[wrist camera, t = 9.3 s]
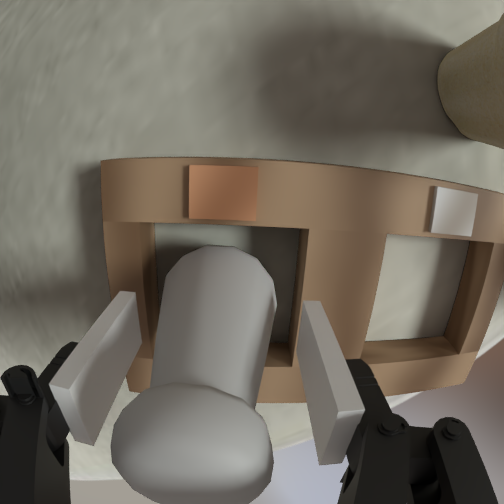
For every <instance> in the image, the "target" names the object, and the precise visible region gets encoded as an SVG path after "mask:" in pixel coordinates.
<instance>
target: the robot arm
mask: <svg viewBox="0 0 504 504" xmlns="http://www.w3.org/2000/svg"><path fill="white" fill-rule="evenodd" d="M141 344H142V339H141V332H140V325H139V317H138V310H137V301H136V293H135V292H127V291H120V292H119V293H118V294H117V295H116V297H115V298H114V299H113V300H112V302H111V303H110V304H109V305H108V306H107V308H106V309H105V310H104V311H103V313H102V314H101V315H100V316H99V318H98V319H97V320H96V321H95V323H94V324H93V325H92V327H91V328H90V329H89V330H88V332H87V333H86V334H85V336H84V337H83V338H82V339H81V341H80V342H79V343H77V342H70V343H68V344H67V345H65V346H64V347H62V348H61V349H60V350H59V352H58V353H57V354H56V356H55V357H54V358H53V359H52V361H51V362H50V364H48V366H47V367H46V368H45V370H44V371H43V372H42V373H41V375H40V376H39V377H38V379H37V376H36V374H35V372H34V370H33V369H32V368H31V367H29V366H25V365H18V366H13V367H11V368H9V369H7V370H6V371H5V372H4V373H3V374H2V376H1V380H2V382H3V384H4V386H5V388H6V391H7V393H8V395H9V396H5V395H0V504H71V500H70V479H69V444H68V441H67V439H66V437H67V435H68V433H69V431H70V432H71V434H72V436H73V438H74V440H75V441H78V442H81V443H85V444H89V445H92V446H94V444H95V442H96V440H97V437H98V435H99V433H100V431H101V428H102V426H103V424H104V422H105V419H106V417H107V415H108V413H109V411H110V408H111V406H112V404H113V402H114V400H115V398H116V395H117V393H118V391H119V389H120V387H121V385H122V383H123V381H124V379H125V376H126V374H127V372H128V370H129V368H130V366H131V364H132V362H133V360H134V358H135V356H136V354H137V352H138V350H139V348H140V346H141ZM296 353H297V358H298V363H299V367H300V372H301V377H302V382H303V386H304V391H305V396H306V401H307V406H308V411H309V416H310V421H311V426H312V431H313V436H314V441H315V446H316V451H317V456H318V461H319V465H328V464H338V463H342V462H343V459H344V457H345V455H347V459H348V462H349V466H348V468H347V470H346V472H345V473H344V475H343V477H342V479H341V481H340V482H342V483H343V485H342V489H341V492H340V496H339V500H338V503H337V504H406V503H407V504H498V501H497V498H496V495H495V493H494V490H493V487H492V485H491V482H490V479H489V476H488V474H487V471H486V469H485V466H484V464H483V461H482V459H481V457H480V454H479V452H478V449H477V447H476V445H475V442H474V440H473V438H472V436H471V433H470V431H469V429H468V428H467V426H466V425H465V423H463V422H462V421H460V420H459V419H455V418H453V417H445V418H442V419H439V420H438V421H437V422H436V423H435V425H434V427H433V428H425V427H414V426H409V424H408V423H407V422H406V420H405V419H404V418H402V417H401V416H399V415H397V414H394V413H392V411H391V409H390V407H389V405H388V403H387V401H386V399H385V396H384V394H383V392H382V390H381V388H380V386H378V382H377V380H376V378H374V374H373V372H372V370H371V368H370V366H369V365H368V364H366V363H365V362H364V361H363V360H362V359H345V358H344V356H343V353H342V351H341V349H340V346H339V344H338V341H337V339H336V337H335V334H334V332H333V330H332V327H331V325H330V323H329V320H328V318H327V316H326V313H325V311H324V309H323V306H322V304H321V302H320V301H303V306H302V313H301V321H300V328H299V335H298V342H297V349H296Z"/></svg>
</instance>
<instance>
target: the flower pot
mask: <svg viewBox="0 0 504 504" xmlns="http://www.w3.org/2000/svg"><path fill="white" fill-rule="evenodd" d="M437 84H438V91H439V96H440V99H441V103H442V106H443V108H444V110H445V112H446V114H447V115H448V116H449V118H450V119H451V120H452V121H453V123H454V124H455V125H456V127H457V128H458V129H459V131H460V132H461V133H462V134H463V135H465V136H466V137H468V138H470V139H472V140H475V141H479V142H483V143H486V144H489V145H492V146H496V147H499V148H502V149H504V13H503V15H502V16H501V18H500V20H499V21H498V22H496V23H495V24H493V25H491V26H490V27H488V28H487V29H485V30H483V31H482V32H480V33H479V34H477V35H476V36H474V37H472V38H471V39H469V40H468V41H466V42H465V43H463V44H462V45H460V46H458V47H457V48H455V49H453V50H452V51H450V52H449V53H447V55H446V56H445V57H444V59H443V60H442V62H441V64H440V65H439V69H438V76H437Z"/></svg>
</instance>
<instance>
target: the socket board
mask: <svg viewBox="0 0 504 504" xmlns="http://www.w3.org/2000/svg"><path fill="white" fill-rule="evenodd" d="M101 198H102V218H103V232H104V244H105V255H106V264H107V273H108V281H109V288H110V295H111V302H112V300H113V299H114V298H115V297H116V295H117V294H118V293H119V292H120V291H127V292H135V293H136V301H137V310H138V317H139V325H140V332H141V339H142V344H141V346H140V348H139V350H138V352H137V354H136V356H135V358H134V360H133V362H132V364H131V366H130V368H129V370H128V372H127V374H126V379H127V383H128V387H129V391H131V392H138V393H141V392H143V391H144V390H145V389H148V388H150V381H151V372H152V364H153V356H154V349H155V341H156V334H157V327H158V321H159V314H160V309H159V297H158V284H157V269H156V252H155V228H154V223H189V224H218V225H243V226H265V227H286V228H300V234H299V245H298V255H297V266H296V275H295V285H294V294H293V303H292V311H291V320H290V328H289V336H288V343H272V342H269V347H268V352H267V356H266V361H265V366H264V370H263V375H262V379H261V384H260V389H259V393H258V398H257V402H256V403H305V402H307V401H306V396H305V391H304V386H303V382H302V377H301V372H300V367H299V363H298V358H297V353H296V349H297V342H298V335H299V328H300V321H301V313H302V306H303V301H320V302H321V304H322V306H323V309H324V311H325V313H326V316H327V318H328V320H329V323H330V325H331V327H332V330H333V332H334V334H335V337H336V339H337V341H338V344H339V346H340V349H341V351H342V353H343V356H344V358H345V359H362V360H363V361H364V362H365V363H366V364H368V365H369V366H370V368H371V370H372V372H373V374H374V378H376V380H377V382H378V386H380V388H381V390H382V392H383V394H384V396H393V395H400V394H407V393H413V392H420V391H426V390H431V389H436V388H442V387H447V386H452V385H457V384H461V383H464V382H465V380H466V377H467V375H468V373H469V371H470V369H471V367H472V365H473V362H474V360H475V358H476V356H477V353H478V351H479V349H480V346H481V344H482V341H483V339H484V336H485V334H486V331H487V329H488V326H489V323H490V321H491V318H492V315H493V312H494V309H495V306H496V303H497V300H498V297H499V294H500V291H501V287H502V284H503V281H504V194H503V193H499V192H496V191H491V190H487V189H483V188H478V187H474V186H469V185H464V184H459V183H454V182H449V181H444V180H439V179H433V178H428V177H422V176H416V175H410V174H404V173H397V172H390V171H383V170H376V169H368V168H360V167H352V166H343V165H334V164H324V163H313V162H301V161H288V160H273V159H254V158H228V157H142V158H119V159H110V160H102V161H101ZM387 234H398V235H411V236H424V237H437V238H448V239H460V240H470V244H469V248H468V253H467V257H466V262H465V266H464V270H463V274H462V278H461V282H460V285H459V289H458V292H457V296H456V299H455V303H454V306H453V309H452V312H451V316H450V319H449V322H448V325H447V328H446V330H445V333H444V336H438V337H427V338H415V339H402V340H386V341H366V342H365V338H366V334H367V330H368V326H369V322H370V318H371V313H372V309H373V305H374V300H375V295H376V291H377V286H378V281H379V276H380V271H381V265H382V260H383V254H384V249H385V242H386V236H387Z"/></svg>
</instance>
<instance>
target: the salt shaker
mask: <svg viewBox="0 0 504 504" xmlns="http://www.w3.org/2000/svg"><path fill="white" fill-rule="evenodd" d="M276 307H277V301H276V295H275V289H274V283H273V280H272V278H271V277H270V275H269V274H268V272H267V271H266V270H265V268H264V267H263V266H262V264H261V263H260V262H259V260H258V259H257V258H256V257H254V256H252V255H250V254H248V253H246V252H244V251H242V250H240V249H238V248H236V247H234V246H219V245H206V246H204V247H202V248H199V249H197V250H195V251H192V252H190V253H188V254H186V255H184V256H183V257H181V259H180V260H179V261H178V262H177V263H176V264H175V265H174V267H173V268H172V269H171V270H170V271H169V272H168V274H167V275H166V278H165V284H164V290H163V296H162V302H161V308H160V314H159V321H158V327H157V334H156V341H155V349H154V356H153V364H152V372H151V381H150V388H148V389H145V390H144V391H143V392H141V393H140V394H139V395H138V396H137V397H136V398H135V399H134V400H133V401H131V402H130V403H129V404H128V405H127V406H126V407H125V408H124V409H123V410H122V412H121V413H120V415H119V417H118V419H117V421H116V423H115V425H114V428H113V434H112V440H111V455H112V463H113V465H114V466H115V467H116V469H117V470H118V472H119V473H120V475H121V476H122V477H123V478H124V480H126V482H127V483H128V484H129V485H130V486H131V488H132V489H133V490H135V491H137V492H138V493H140V494H142V495H144V496H146V497H147V498H149V499H151V500H152V501H154V502H157V503H160V504H249V503H250V502H252V501H253V500H254V499H256V498H257V497H258V496H259V495H260V494H261V493H262V492H263V490H264V489H265V488H266V487H267V485H268V484H269V483H270V482H271V476H272V470H273V464H274V460H273V452H272V444H271V440H270V437H269V433H268V429H267V425H266V423H265V421H264V419H263V417H262V416H261V415H260V414H259V413H257V412H256V411H255V406H256V402H257V398H258V393H259V389H260V384H261V379H262V375H263V370H264V366H265V361H266V356H267V352H268V347H269V342H270V337H271V332H272V327H273V322H274V317H275V312H276Z"/></svg>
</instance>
